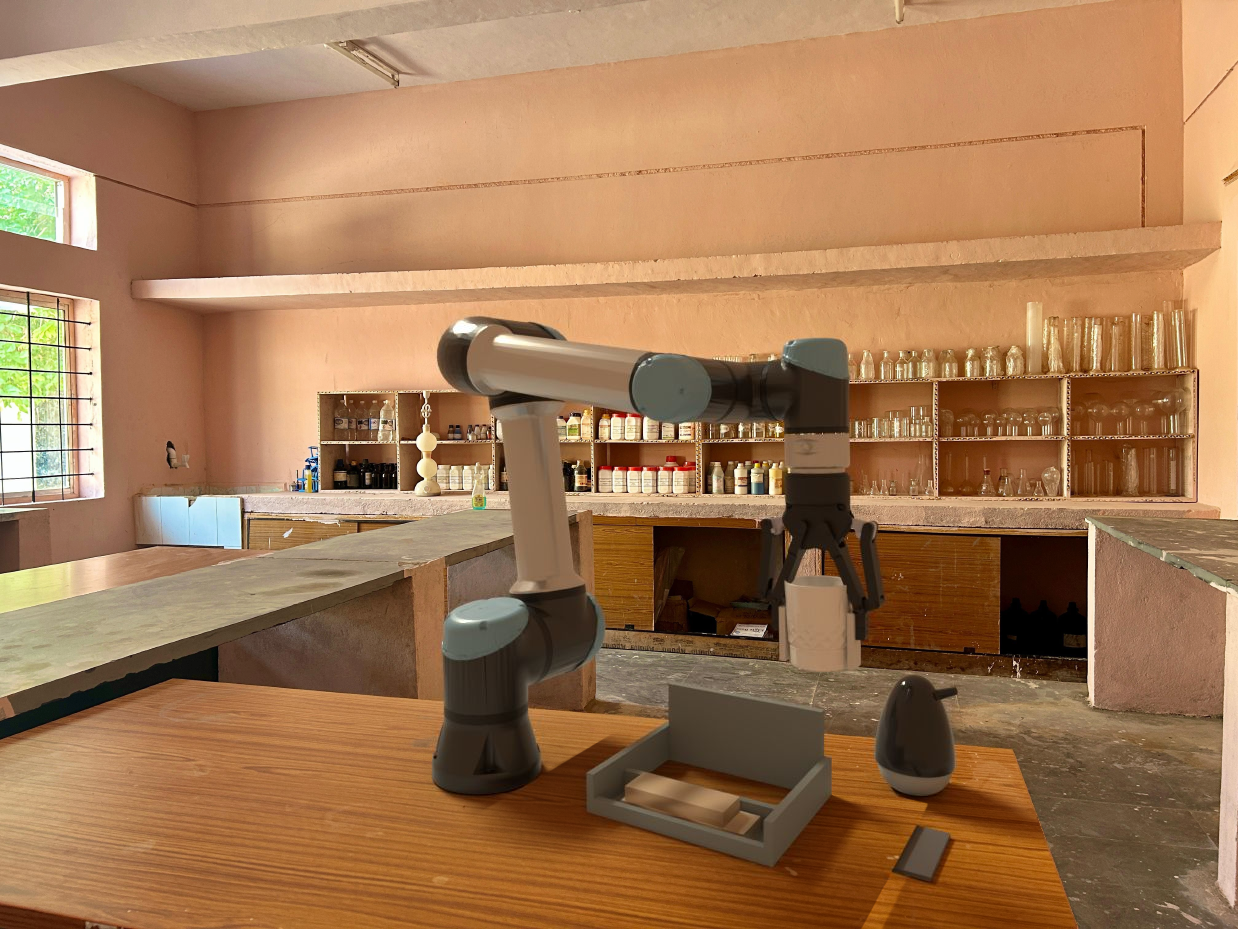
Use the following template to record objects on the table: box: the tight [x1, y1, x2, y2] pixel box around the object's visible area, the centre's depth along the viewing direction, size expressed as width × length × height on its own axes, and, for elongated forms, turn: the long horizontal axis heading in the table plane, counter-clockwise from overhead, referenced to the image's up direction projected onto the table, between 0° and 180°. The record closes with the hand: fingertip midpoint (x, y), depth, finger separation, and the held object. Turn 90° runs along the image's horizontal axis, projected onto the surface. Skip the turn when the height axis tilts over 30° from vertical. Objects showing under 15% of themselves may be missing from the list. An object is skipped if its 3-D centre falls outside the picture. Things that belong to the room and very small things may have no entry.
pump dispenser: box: [873, 673, 959, 797], centre depth 108 cm, size 10×10×15 cm
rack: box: [585, 680, 833, 868], centre depth 102 cm, size 24×20×12 cm
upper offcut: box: [625, 772, 740, 828], centre depth 97 cm, size 13×5×2 cm, turn 58°
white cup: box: [784, 575, 853, 673], centre depth 97 cm, size 8×8×10 cm
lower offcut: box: [621, 797, 761, 840], centre depth 97 cm, size 16×5×2 cm, turn 58°
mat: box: [891, 824, 951, 883], centre depth 94 cm, size 11×11×1 cm
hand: (819, 662), depth 97 cm, fingers closed on white cup, 7 cm apart
